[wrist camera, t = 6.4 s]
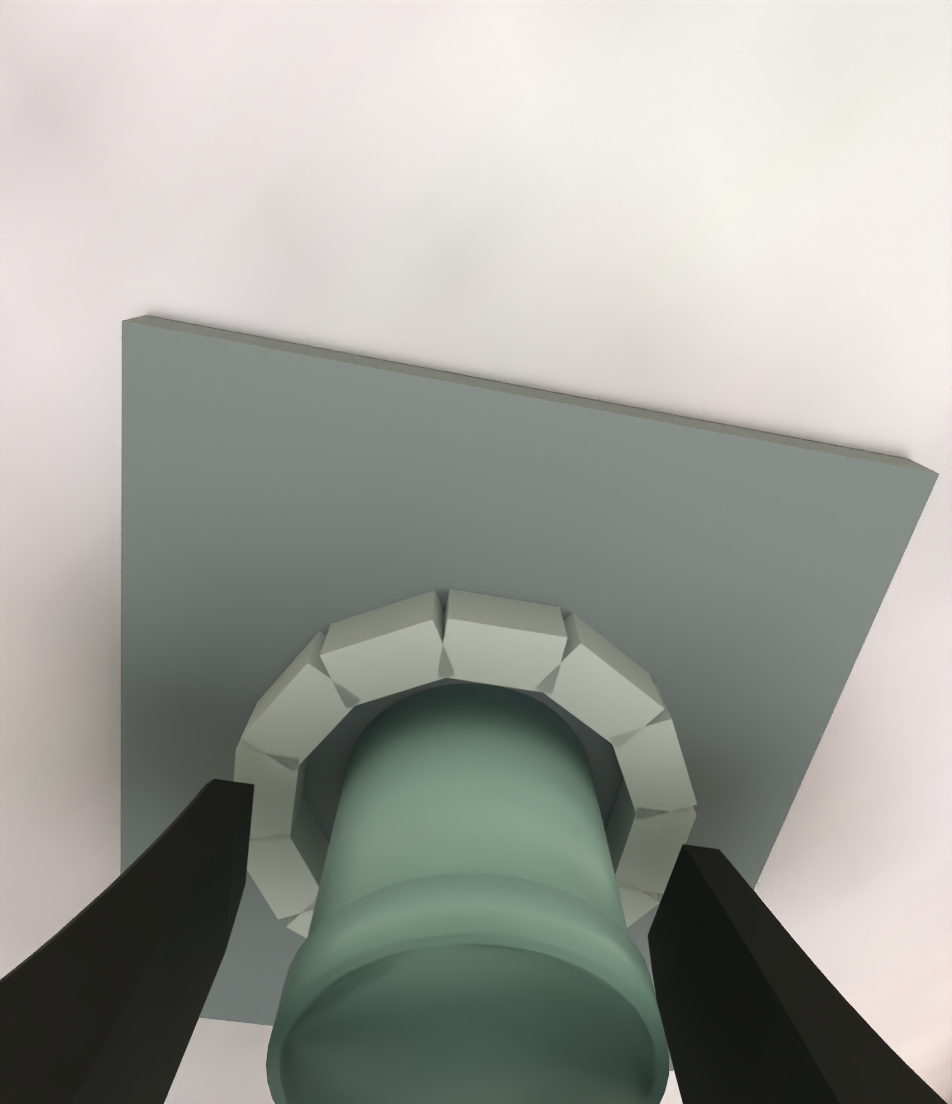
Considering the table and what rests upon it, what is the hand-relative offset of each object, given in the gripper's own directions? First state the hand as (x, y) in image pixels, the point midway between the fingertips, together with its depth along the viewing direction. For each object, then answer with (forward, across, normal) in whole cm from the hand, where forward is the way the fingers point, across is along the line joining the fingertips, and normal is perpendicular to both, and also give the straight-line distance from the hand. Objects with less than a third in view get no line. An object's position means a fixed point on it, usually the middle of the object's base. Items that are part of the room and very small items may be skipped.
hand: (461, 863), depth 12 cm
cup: (+2, 0, 0) cm, 2 cm away
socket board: (+3, 0, 0) cm, 3 cm away
